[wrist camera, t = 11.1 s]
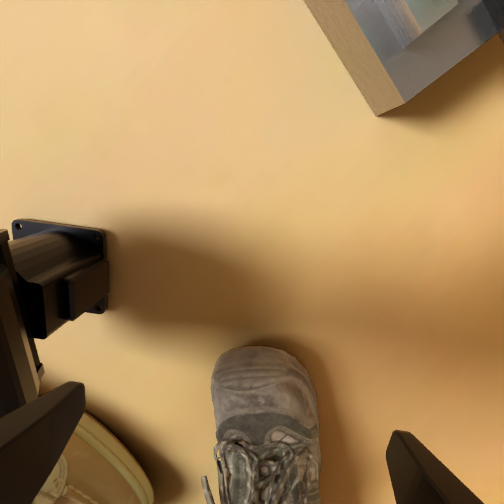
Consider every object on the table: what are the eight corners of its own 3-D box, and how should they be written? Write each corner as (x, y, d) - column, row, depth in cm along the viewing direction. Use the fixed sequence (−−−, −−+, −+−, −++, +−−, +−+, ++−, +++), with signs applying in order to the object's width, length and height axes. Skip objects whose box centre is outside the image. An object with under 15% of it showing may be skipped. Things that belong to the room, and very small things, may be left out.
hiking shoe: (337, 334, 20) (239, 535, 11) (351, 513, 28) (301, 715, 19) (229, 310, 25) (101, 433, 16) (267, 467, 33) (195, 609, 24)
